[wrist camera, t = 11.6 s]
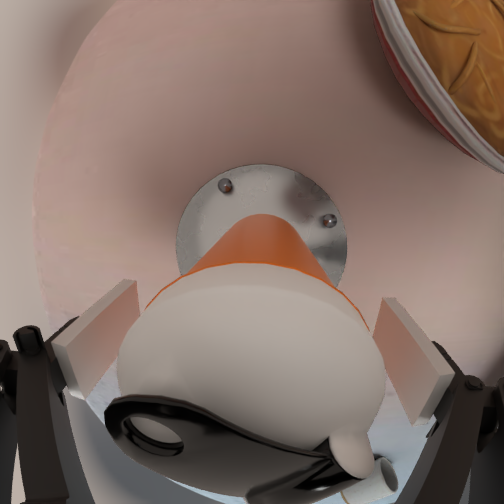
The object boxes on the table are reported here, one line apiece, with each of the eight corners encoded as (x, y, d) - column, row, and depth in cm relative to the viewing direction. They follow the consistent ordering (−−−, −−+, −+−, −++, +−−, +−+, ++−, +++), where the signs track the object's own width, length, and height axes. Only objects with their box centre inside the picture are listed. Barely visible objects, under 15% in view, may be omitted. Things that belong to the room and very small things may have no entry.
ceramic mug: (334, 472, 35) (339, 508, 28) (375, 451, 33) (386, 488, 26) (362, 483, 37) (369, 514, 30) (399, 464, 35) (409, 495, 28)
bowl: (533, 118, 18) (586, 116, 9) (439, 216, 23) (505, 242, 14) (429, -32, 14) (463, -68, 5) (293, 22, 19) (303, -43, 10)
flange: (300, 135, 22) (301, 133, 21) (366, 285, 26) (369, 289, 25) (150, 215, 25) (146, 216, 24) (228, 345, 28) (227, 350, 27)
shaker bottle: (243, 181, 23) (120, 242, 4) (334, 237, 24) (475, 419, 5) (193, 270, 25) (67, 459, 6) (278, 317, 26) (283, 536, 7)
